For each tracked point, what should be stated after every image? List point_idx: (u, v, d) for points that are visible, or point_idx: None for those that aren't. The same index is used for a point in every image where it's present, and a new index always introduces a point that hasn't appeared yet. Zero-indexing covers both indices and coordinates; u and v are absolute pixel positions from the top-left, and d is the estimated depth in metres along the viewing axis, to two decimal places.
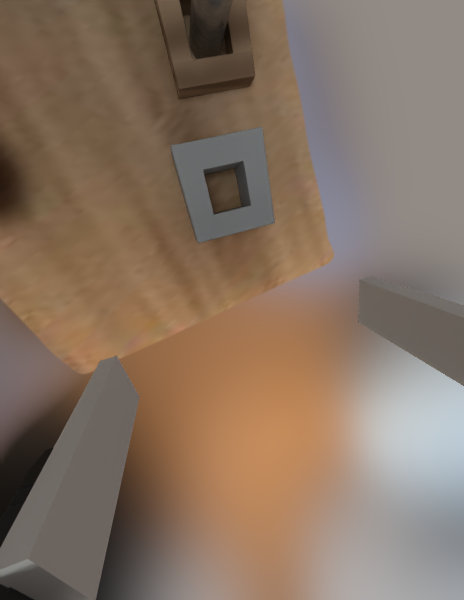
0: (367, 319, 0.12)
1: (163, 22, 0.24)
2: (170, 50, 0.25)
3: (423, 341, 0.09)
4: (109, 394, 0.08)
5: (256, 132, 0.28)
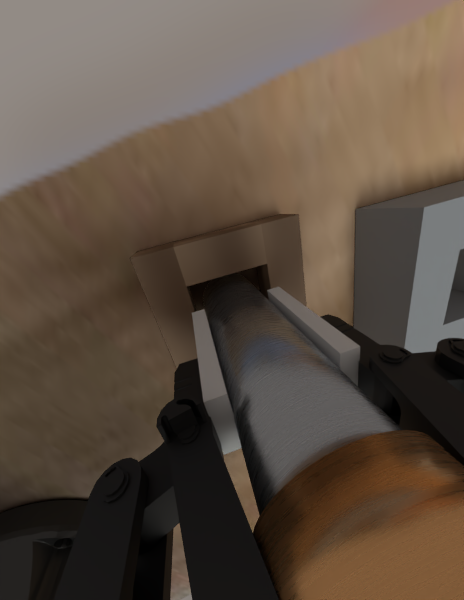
0: None
1: None
2: None
3: None
4: None
5: (428, 221, 0.12)
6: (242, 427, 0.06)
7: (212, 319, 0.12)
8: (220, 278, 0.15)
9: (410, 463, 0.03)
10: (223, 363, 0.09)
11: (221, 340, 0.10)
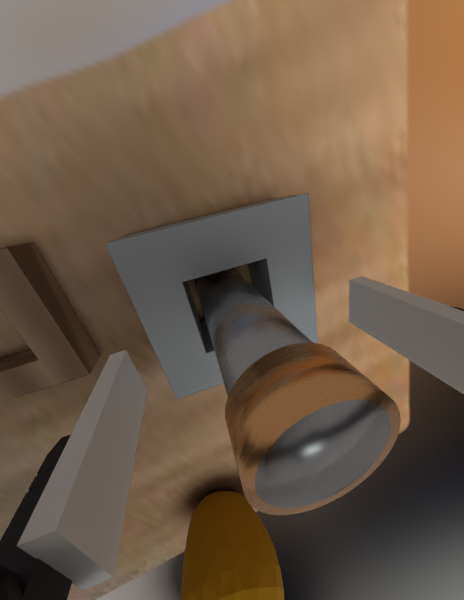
0: (357, 319, 0.12)
1: (9, 398, 0.16)
2: (41, 387, 0.16)
3: (409, 340, 0.09)
4: (120, 386, 0.09)
5: (120, 257, 0.12)
6: (222, 361, 0.09)
7: (204, 300, 0.14)
8: None
9: (310, 353, 0.06)
10: (211, 328, 0.11)
11: (210, 312, 0.12)
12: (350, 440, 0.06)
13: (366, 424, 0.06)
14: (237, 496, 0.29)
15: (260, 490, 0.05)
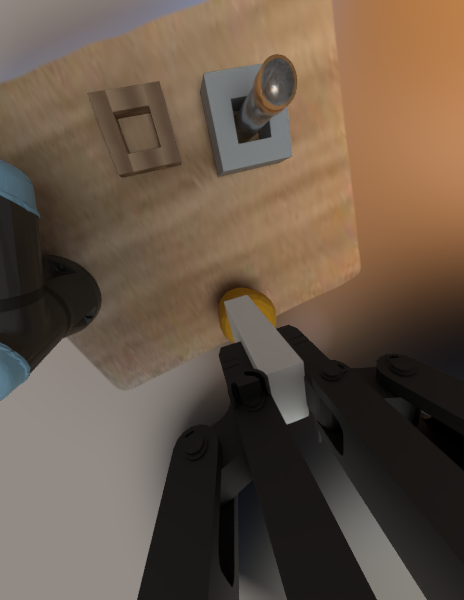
0: None
1: (145, 168, 0.34)
2: (159, 165, 0.34)
3: None
4: None
5: (208, 80, 0.30)
6: (250, 93, 0.27)
7: (238, 113, 0.33)
8: None
9: None
10: (244, 104, 0.29)
11: None
12: (283, 77, 0.24)
13: (287, 72, 0.24)
14: None
15: (262, 86, 0.24)
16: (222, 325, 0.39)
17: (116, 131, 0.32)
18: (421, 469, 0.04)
